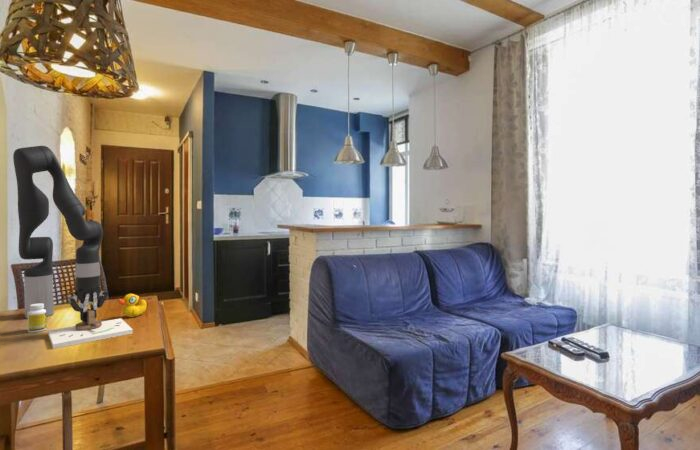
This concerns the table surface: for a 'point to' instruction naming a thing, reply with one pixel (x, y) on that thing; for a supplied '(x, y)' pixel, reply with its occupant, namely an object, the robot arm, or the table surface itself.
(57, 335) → the dial board
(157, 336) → the table surface
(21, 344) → the table surface
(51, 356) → the table surface
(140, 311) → the duckling
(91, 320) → the knob
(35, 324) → the supplement bottle
